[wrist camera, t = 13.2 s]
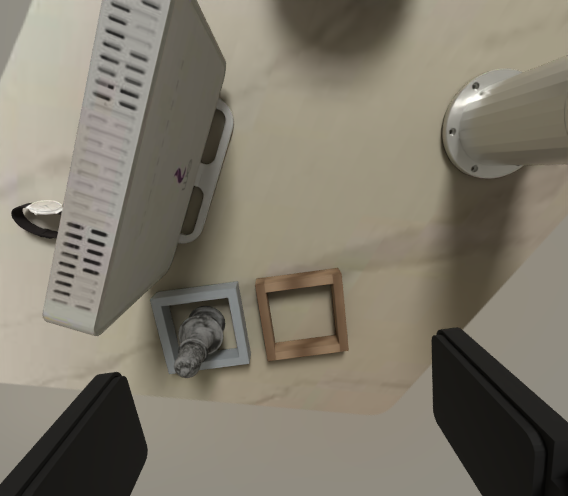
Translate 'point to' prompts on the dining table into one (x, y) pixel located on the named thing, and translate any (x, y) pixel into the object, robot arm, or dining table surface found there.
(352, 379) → the dining table surface
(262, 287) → the walnut collar
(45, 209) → the watch
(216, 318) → the marbled chess piece
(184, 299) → the slate-grey collar
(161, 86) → the network device
